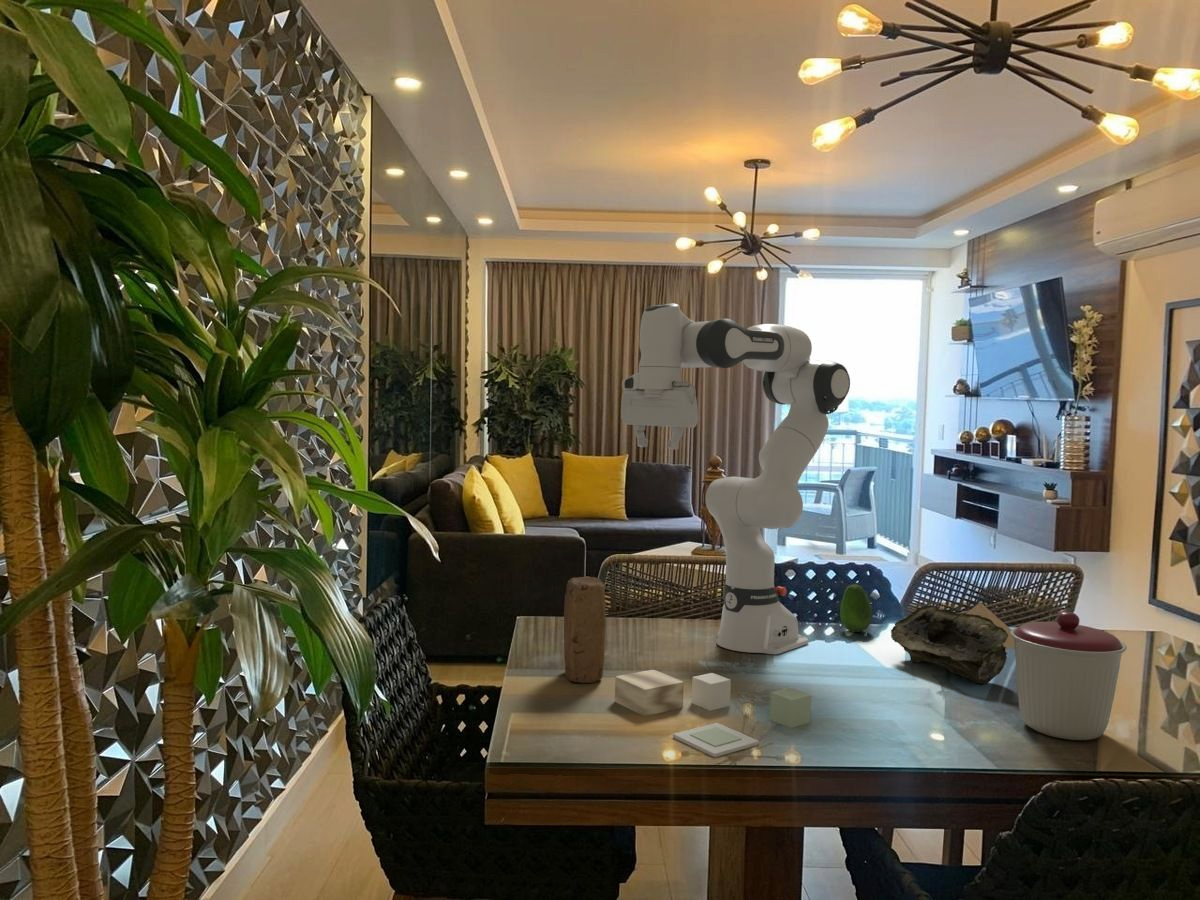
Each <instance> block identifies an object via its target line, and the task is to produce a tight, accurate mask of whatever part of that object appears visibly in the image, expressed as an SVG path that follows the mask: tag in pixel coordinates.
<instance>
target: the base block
mask: <svg viewBox="0 0 1200 900" xmlns="http://www.w3.org/2000/svg"><path fill="white" fill-rule="evenodd" d="M614 677H615V679H614V703H616V704H618V705H621V706H623V707H624V708H627V709H629V710H631V711H632V712H635V713H637V714H638V715H641V716H643V717H647V716H651V715H656V714H659V713H665V712H668V711H670V712H671V711H673V710H678V709H683V708H684V692H685V691H684V690H685V689H684V686H685V682H684V681H683V680H681V679H677V678H676V677H673V676H671V675H668V674H666V673H663V672H661V671H658V670H656V669H649V670H642V671H637V672H633V673H632V672H631V673H627V674H622V675H621V674H620V675H616V676H614Z"/></svg>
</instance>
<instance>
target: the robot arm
mask: <svg viewBox="0 0 1200 900" xmlns="http://www.w3.org/2000/svg"><path fill="white" fill-rule="evenodd" d="M638 345H639V347H638V348H639V351H640V360H639V364H638V372H636V373H634V374H632V375H630V376H628V377H626V378H624V379H623V380H622V381H621V382H622V383H621V388H622V390H624V391H623V393H622V395H621V401H620V402H621V404H620V418H621V421H622V423H623V425H629V426H630V425H633V432H634V434H635V437H636V440H637V441H636V442H637V444H636V446H637V447H639V448H647V447H649V446H648V445H649V438H646V434H645V431H646V426H650V427H668V428H669V427H671V433H672V436H671V438H670V440H667V449H668V450H674V451H675V450H679V447H680V440H681V439H682V437H683V435H684V433H685V431H684V428H692V429H693V428H695V427H697V425H698V423H699V410H698V402H697V401H698V399H697V396H696V395H697V394H696V387H695V386H694V385H693V384H692V382H690V381H681V380H682V379H681V378H682V368H683V369H684V368H685V369H687V368H690V369H691V368H692V369H693V368H694V369H695V368H697V369H698V368H699V369H700V368H719V369H729V368H732V367H735V366H737V365H738V364H739V363H740V362H742V363H743V364H744V365H745V367H747V368H748V369H750V370H754V371H759V372H763V373H764V374H763V378H762V390H763V391H764V394H765V396H766V398H767V399H768V400H769V401H771V402H773V403H775V404H778V405H789V410H788V413H787V415H786V417H784V418H783V419H782V421H781V422H780V424H778V426H777V427H776V428H775V429H774V431H773V433H772V434H771V435H770V437H768V439H767V441H766V442H765V444H764V445H763V447H762V448H761V449H760V450H759V454H758V462H759V466H760V468H761V470H762V472H761V473H760V475H759V476H756V478H755V477H753V478H751V477H743V476H742V477H740V476H727V477H725V476H724V477H722V478H717V479H714V480H713V481H711V483H710V484H709V485H708V487H707V489H706V492H705V505H706V506H705V507H706V509H707V511H708V512H709V514H710V515H711V516H712V517H713V518H714V520H715V522H716V524H717V525H718V528H719V530H720V533H721V535H722V540H723V543H724V548H725V549H724V550H725V582H724V583H723V589H722V590H723V591H722V592H723V593H722V596H723V597H722V599H723V602H724V603H723V606H722V612H721V618H720V625H719V630H718V632H717V639H716V644H717V645H718V646H719V647H722V648H724V649H726V650H730V651H734V652H735V651H736V652H742V653H755V654H756V653H757V654H768V655H779V654H782V653H786V652H788V651H791V650H793V649H797V648H800V647H802V646H806V645H809V639H808V638H807V637H805V636H804V635H802V634H799V623H798V618H797V617H796V616H795V615H794V614H793V613H792V612H791V611H790V610H789V609H787V608H786V607H785V606H784V605H783V604H782V603H781V602H780V601H779V599H780V598H779V596H778V595H780V596H782V597H785V596H786V594H787V592H788V591H787V589H786V587H785V586H781V585H778V586H775V584H774V583H775V559H776V557H775V556H776V555H775V553H774V550H773V549H772V547H771V546H770V545H769V544H768V543H767V542H766V541H765V539H764V537H763V535H762V532H761V528H763V529H768V530H782V529H789V528H792V527H794V526H795V525H797V523H798V521H799V520H800V519H801V516H802V513H803V510H804V501H803V497H802V495H801V493H800V491H799V489H798V484H799V480H800V479H801V477H802V475H803V473H804V472H805V470H806V468H807V467H808V466H809V464H810V462H811V461H812V460H813V458H814V456H815V455H816V453H817V452H818V450H819V449H820V447H821V445H822V443H823V440H824V438H825V436H826V434H827V432H828V430H829V419H828V416H827V415H831V414H833V413H834V412H836V411H837V410H838V409H839V406H840V405H841V404H842V403H843V402H844V400H845V399H846V398H847V395H848V394H849V392H850V388H851V377H850V374H849V372H848V370H847V368H846V367H845V365H843V364H841V363H839V362H836V361H831V360H824V361H821V360H814V359H813V360H811V358H810V357H811V354H812V351H813V350H812V349H813V347H812V340H811V338H810V337H809V335H808V334H807V333H805V332H804V331H803V330H801V329H798V328H796V327H792V326H788V325H783V324H779V323H776V324H775V323H762V324H761V323H760V324H756V325H752V326H749V327H748V328H745V327H744V326H742V325H740V324H739V323H737V322H736V321H734V320H733V319H729V318H720V319H714V320H707V321H694V320H692V319H691V318H689V317H687V316H686V315H685V314H684V312H682V309H681V307H680V305H679V304H677V303H662V304H655V305H650V306H647V307H646V308H645V309H644V311H643V312H642V315H641V318H640V327H639V344H638Z"/></svg>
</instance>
